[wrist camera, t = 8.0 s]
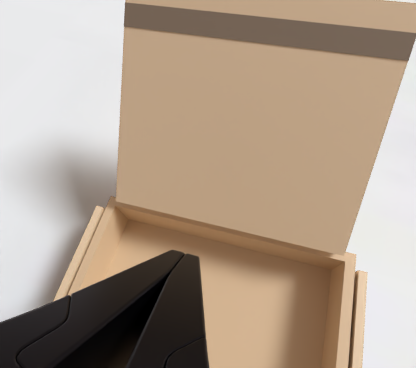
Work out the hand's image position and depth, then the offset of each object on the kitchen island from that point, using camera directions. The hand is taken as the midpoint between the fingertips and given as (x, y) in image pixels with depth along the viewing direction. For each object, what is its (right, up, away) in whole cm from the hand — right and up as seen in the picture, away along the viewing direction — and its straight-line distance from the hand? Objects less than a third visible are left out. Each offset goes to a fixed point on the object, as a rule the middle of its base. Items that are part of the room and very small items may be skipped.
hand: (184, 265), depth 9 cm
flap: (+2, 0, +7) cm, 8 cm away
